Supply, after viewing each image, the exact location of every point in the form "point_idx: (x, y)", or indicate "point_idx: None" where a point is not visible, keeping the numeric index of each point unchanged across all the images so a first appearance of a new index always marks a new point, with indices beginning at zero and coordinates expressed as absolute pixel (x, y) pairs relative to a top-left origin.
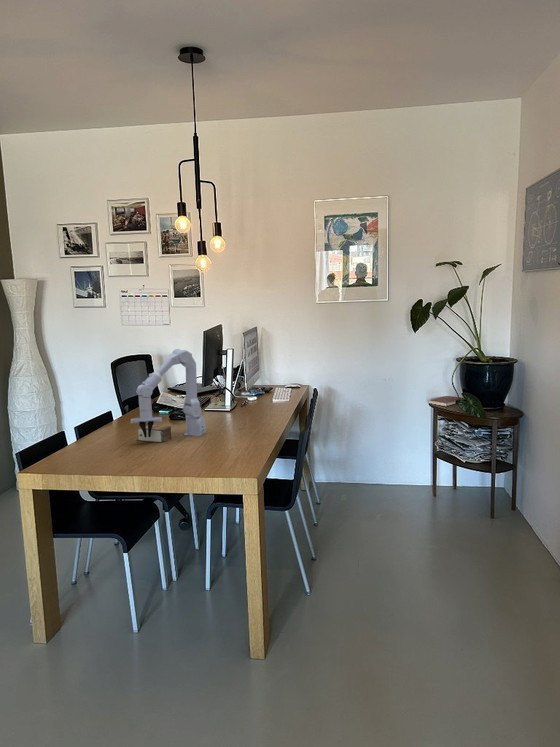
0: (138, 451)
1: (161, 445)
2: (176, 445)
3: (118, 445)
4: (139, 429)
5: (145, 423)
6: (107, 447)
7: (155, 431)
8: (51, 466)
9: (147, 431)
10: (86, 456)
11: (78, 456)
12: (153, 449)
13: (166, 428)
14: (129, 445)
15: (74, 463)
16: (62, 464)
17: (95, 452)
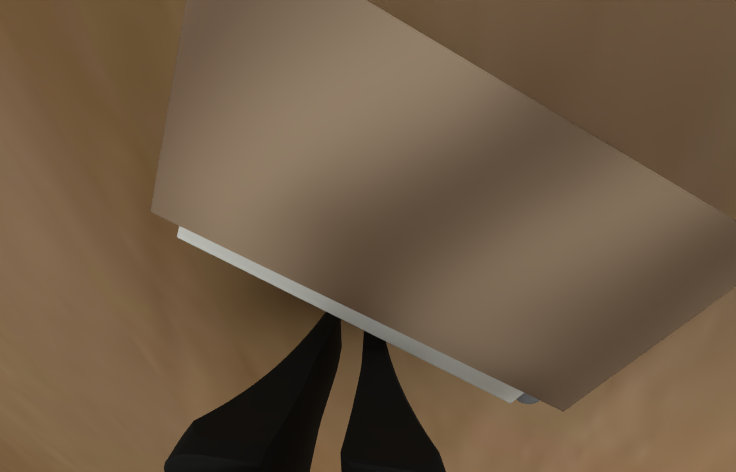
0: (328, 426)
1: None
2: (602, 403)
3: (127, 266)
4: (187, 214)
5: (281, 464)
6: (71, 291)
7: (448, 369)
8: (12, 466)
9: (333, 306)
10: (65, 408)
11: (21, 396)
12: (422, 424)
13: (633, 359)
14: (218, 292)
15: (82, 467)
16: (38, 461)
17: (65, 365)
